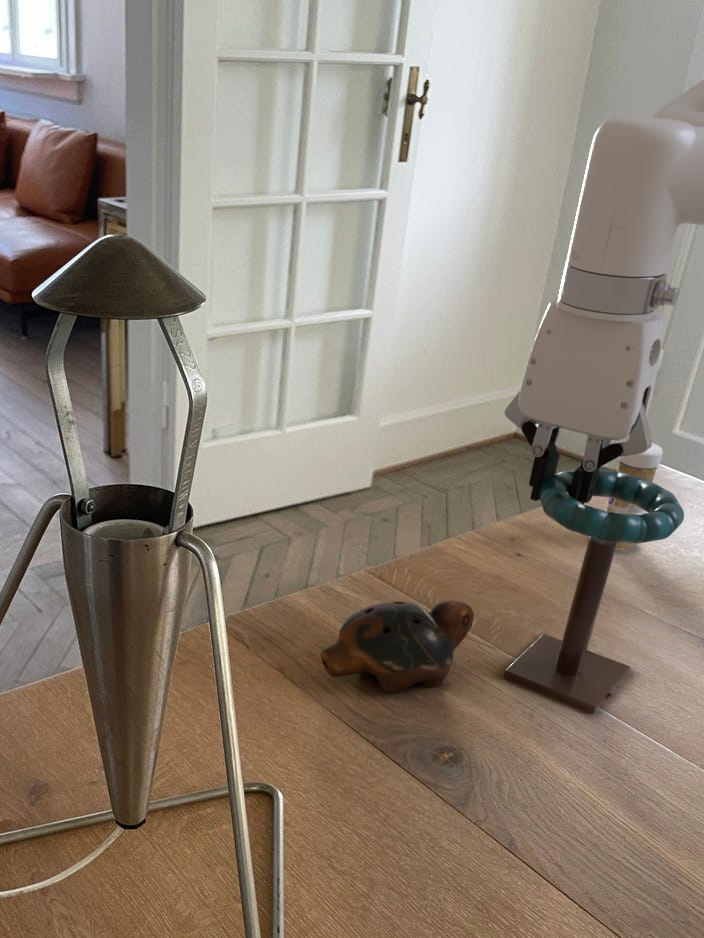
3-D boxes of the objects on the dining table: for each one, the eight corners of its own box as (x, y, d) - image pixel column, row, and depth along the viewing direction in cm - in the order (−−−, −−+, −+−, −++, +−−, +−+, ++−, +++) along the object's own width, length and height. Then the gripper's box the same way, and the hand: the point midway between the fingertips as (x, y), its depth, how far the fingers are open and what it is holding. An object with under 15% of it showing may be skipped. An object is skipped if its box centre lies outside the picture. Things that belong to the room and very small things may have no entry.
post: (626, 678, 95) (670, 538, 87) (591, 720, 90) (635, 573, 81) (540, 645, 100) (574, 508, 92) (502, 682, 94) (535, 540, 86)
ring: (694, 515, 86) (703, 491, 85) (651, 561, 78) (660, 535, 77) (568, 478, 92) (574, 455, 91) (515, 517, 84) (521, 492, 83)
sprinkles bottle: (587, 542, 121) (614, 439, 114) (619, 539, 122) (648, 437, 115) (608, 558, 117) (637, 454, 110) (641, 555, 118) (672, 451, 111)
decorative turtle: (488, 688, 93) (501, 620, 88) (348, 728, 89) (354, 659, 84) (434, 632, 101) (444, 568, 96) (302, 667, 96) (306, 601, 91)
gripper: (727, 302, 76) (661, 515, 86) (533, 268, 85) (494, 466, 94) (697, 319, 71) (631, 543, 81) (495, 281, 80) (457, 488, 89)
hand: (557, 499), depth 88 cm, fingers closed on ring, 2 cm apart
